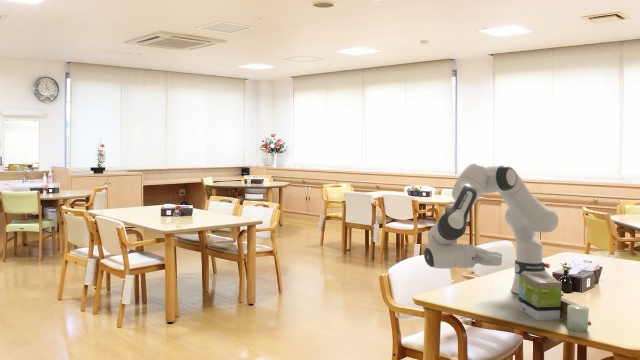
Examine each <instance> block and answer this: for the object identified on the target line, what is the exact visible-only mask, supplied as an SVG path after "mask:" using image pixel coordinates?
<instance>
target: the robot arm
mask: <svg viewBox="0 0 640 360" xmlns="http://www.w3.org/2000/svg"><path fill="white" fill-rule="evenodd" d="M494 193H498V194H499V195H500V196H501V198H502V199H503V201H504V203H505V204H506V206H507V207H508V208H507V209H506V210H505V215H504V218H505V219H504V220H505V222H506V224H507V225H508V226H510V228H511V230H512V232H513V236H514V238H515V244H516V245H515V246H516V247H515V249H516V251H515V252H516V253H515V254H516V255H515V260H514V277H513V282H512V285H511V288H510V291H511V292H512V293H514V294H518V295H519V275H520V274H540V273H541V274H544V275H546V276H548V277H550V278H552V279H555V280H557V279H556V278H555V277H554V276H553V275H551V273H549V272H548V271H547V270H546V269H550V268H551V264H550V263H547V262H543V255H544V253H543V250H544V246H543V243H542V242H541V241H540V240H539V238H537V235H536V233H535V232H537V233H540V234H541V233H544V234H545V233H552V232H555V230H556V229H557V228H558V226H559V217H558V214H557V212H556V211H554V210H553V209H551V208H548V207H547V205H545V204H543V203H542V202H541V201H540V200H538V199H537V197H536V196H534V194H532V193H531V191H530V190H529V188H528V187H527V185H526V184H525V183H524V180H522V178H521V176H520V175H519V174H518V173H517V171H516V170H515V169H514V168H513V167H512V166H510V165H508V164H502V165H493V166H492V165H491V166H486V167H485V166H484V165H481V164H480V163H471V164H468V165H467V167H466V168H464V170H463V171H462V172H461V174H460V175H459V176H458V178H457V180H456V181H455V184H454V185H453V187H452V191H451V196H452V199H453V200H454V203H453V205H452V207H451V208H450V209H449V210H448V211H446V212H444V213H443V214H442V215H441V217H439V219H438V220H437V221H436V222H435V224H433V225H432V226H431V228H430V229H429V231H428V233H427V239H428V240H427V244H426V247H425V248H424V250H423V257H424V260H425V263H426V265H428V266H429V267H430V268H434V269H447V270H448V269H453V268H457V269H472V268H474V267H475V266H476V265H477V264H479V265H481V266H486V267H490V266H491V267H493V266H495V267H497V266H498V267H499V266H501V265H503V255H502V253H501V252H497V251H489V250H486V249H483V248H482V247H478V246H476V245H475V246H474V245H473V244H471V243H470V244H465V243H457V240H458V239H459V238H462V236H463V235H464V234H465V233H466V230H467V219H468V215H469V213H470V211H471V208H472V207H473V206H474V205H475V204H476V203H477V201H478V200H479V198H480V197H481V196H482V194H494ZM562 295H564V291H562V290H561V296H562Z"/></svg>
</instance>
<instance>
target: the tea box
mask: <svg viewBox="0 0 640 360" xmlns="http://www.w3.org/2000/svg"><path fill="white" fill-rule="evenodd" d="M555 279H556V278H555ZM555 279H552V278H550V277H548V276H546V275H544V274H541V273H540V274H520V275H519V294H518V301H517V303H518V304H517V307H518V310H520V311H522V312H524V313H525V314H526V315H528V316H530V317H531V318H533V319H534V320H536V321H552V320H554V321H555V319H556V320H560V319H561V318H560V309H561V297H562V295H561V291H562V290H563V289H562V286H563V285H562V284H563V282H561V281H558V280H557V279H556V280H555Z"/></svg>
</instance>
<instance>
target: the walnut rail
mask: <svg viewBox="0 0 640 360" xmlns="http://www.w3.org/2000/svg"><path fill="white" fill-rule="evenodd" d="M568 305H579V303H576V302H574V301H571V300H568V299H566V298H563V297H562V296H561V309H560V319H561V320H563V321H565V322H567V308H568ZM588 325H592V322H591V321H589V320H588Z"/></svg>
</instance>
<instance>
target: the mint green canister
mask: <svg viewBox="0 0 640 360" xmlns="http://www.w3.org/2000/svg"><path fill="white" fill-rule="evenodd" d="M589 311H590V308H589V307H588V306H586V305H585V306H584V305H582V304H581V305H580V304H578V305H568V308H567V321H566V329H567V330H568V329H569V331H571V330H572V331H571V332H575V331H578V332H577V333H585V332H584V331H587V330H588V329H589V328H588V327H589V324H588V321H589ZM587 332H588V331H587Z"/></svg>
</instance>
